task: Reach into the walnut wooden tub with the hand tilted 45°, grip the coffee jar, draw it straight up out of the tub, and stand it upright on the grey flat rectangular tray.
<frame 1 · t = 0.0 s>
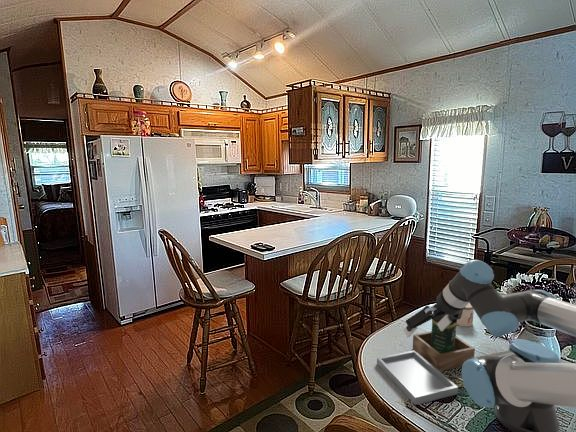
hand: (423, 330, 121), 15 cm above the table, tool tilted 35°, fingers open, 13 cm apart
coffee jar: (441, 356, 133), resting in walnut tub
grey flat rectangular tray: (414, 378, 120), on the table
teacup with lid: (462, 321, 160), on the table
walnut tub: (441, 355, 133), on the table
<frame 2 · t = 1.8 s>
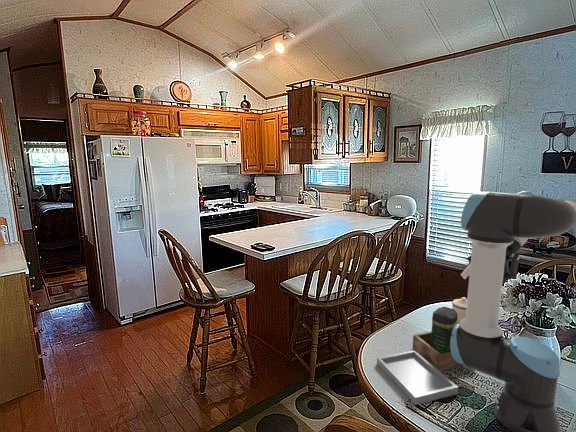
hand: (476, 283, 132), 27 cm above the table, tool tilted 45°, fingers open, 13 cm apart
nothing on the table moved.
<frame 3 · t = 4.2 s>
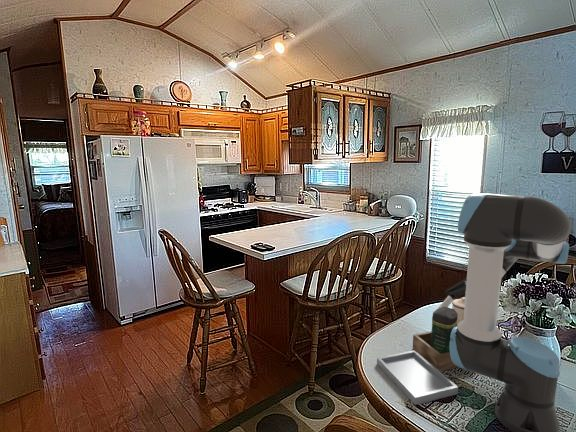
hand: (453, 317, 132), 14 cm above the table, tool tilted 45°, fingers open, 13 cm apart
nothing on the table moved.
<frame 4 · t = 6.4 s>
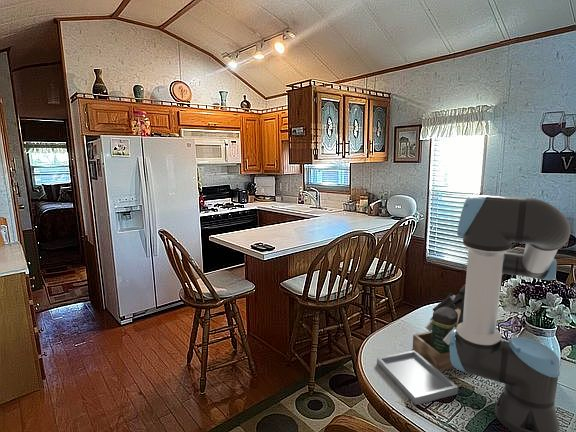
hand: (436, 335, 130), 9 cm above the table, tool tilted 45°, fingers closed on coffee jar, 9 cm apart
coffee jar: (441, 356, 133), resting in walnut tub, touching gripper
everything else where it was.
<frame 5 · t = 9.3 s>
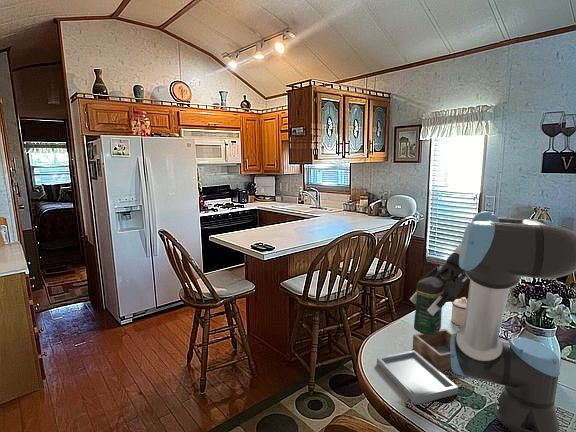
hand: (420, 307, 121), 23 cm above the table, tool tilted 45°, fingers closed on coffee jar, 9 cm apart
coffee jar: (427, 330, 124), point 14 cm above the table, touching gripper
everything else where it was.
when the fingers open (11 cm above the table, at t = 12.6 s): coffee jar drops 1 cm, resting on grey flat rectangular tray.
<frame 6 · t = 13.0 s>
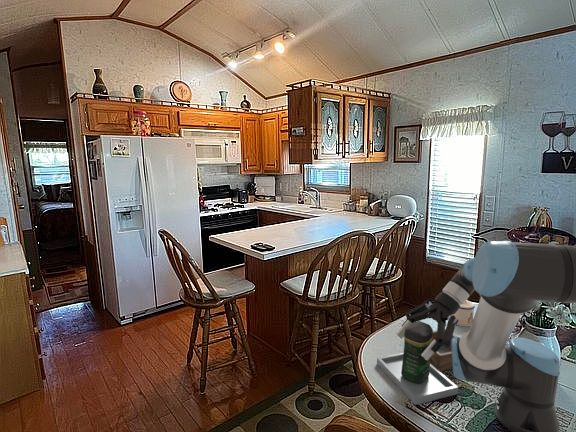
hand: (410, 346, 117), 12 cm above the table, tool tilted 45°, fingers open, 13 cm apart
coffee jar: (415, 376, 120), point 1 cm above the table, touching grey flat rectangular tray
everything else where it was.
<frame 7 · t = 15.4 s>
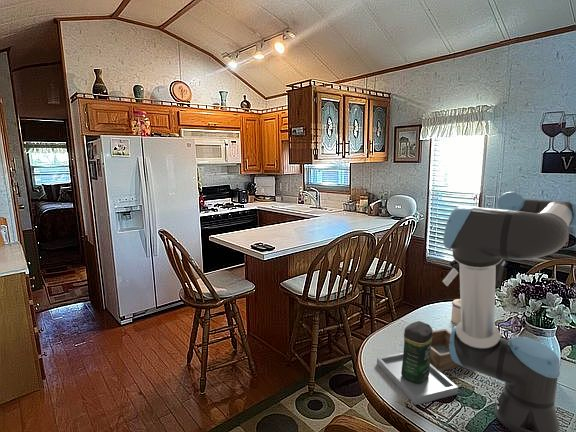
hand: (459, 290, 122), 28 cm above the table, tool tilted 45°, fingers open, 13 cm apart
nothing on the table moved.
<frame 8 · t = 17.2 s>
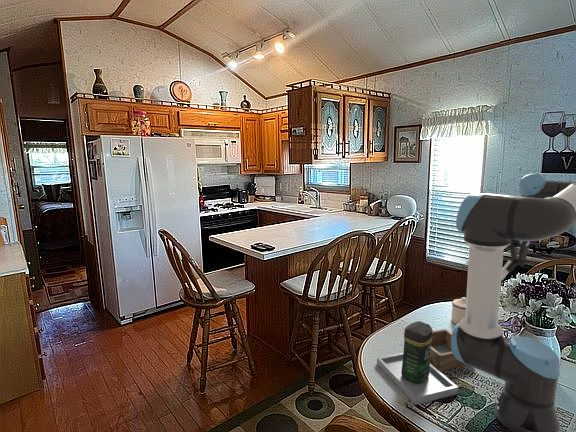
hand: (483, 271, 126), 34 cm above the table, tool tilted 45°, fingers open, 13 cm apart
nothing on the table moved.
at the end: coffee jar inside the target area on the grey flat rectangular tray (0.4 cm from its centre), point 0.8 cm above the grey flat rectangular tray's base; coffee jar tilted 0°; the gripper is holding nothing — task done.
